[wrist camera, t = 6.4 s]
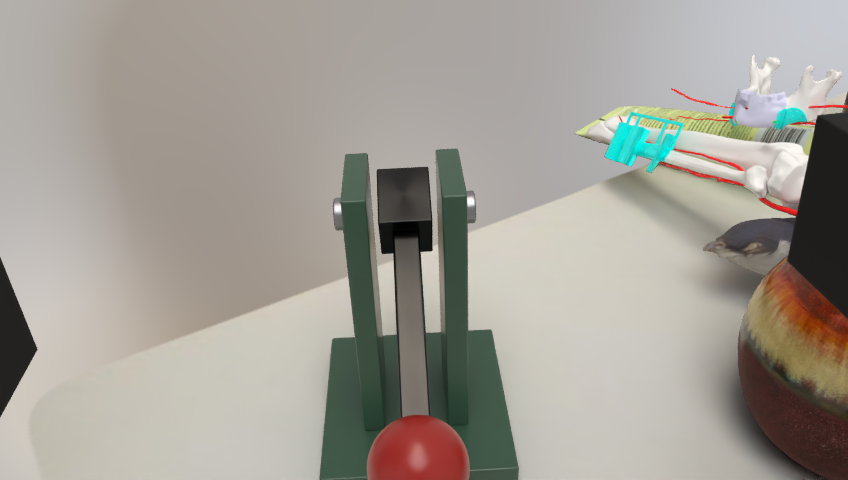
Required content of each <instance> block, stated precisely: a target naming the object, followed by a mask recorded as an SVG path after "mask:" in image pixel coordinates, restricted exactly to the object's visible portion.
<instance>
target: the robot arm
mask: <svg viewBox="0 0 848 480" xmlns="http://www.w3.org/2000/svg"><path fill="white" fill-rule="evenodd" d="M787 262H788V263H790V264H791V265H792V266H793V267H794V268H795V269H796V270H797V271H798V272H799V273H800V274H801V275H802V276H803V277H804V278H805V279H806V280H807V281H808V282H809V283H810V284H812V285H813V286H814V287H815V288H816V289H817V290H818V291H819V292H820V293H821V294H822V295H823V296H824V297H825V298H826V299H827V300H828V301H829V302H830V303H831V304H832V305H834V306H835V307H836V308H837V309H838V310H839V311H840V312H841V313H842V314H843V315H844V316H845V317H846V318H847V319H848V112H845V113H835V114H826V115H817V119H816V124H815V129H814V134H813V139H812V143H811V148H810V153H809V158H808V163H807V167H806V172H805V177H804V182H803V186H802V191H801V196H800V201H799V206H798V210H797V215H796V220H795V225H794V230H793V234H792V239H791V244H790V249H789V254H788V258H787ZM36 351H37V347H36V344H35V342H34V340H33V337H32V335H31V332H30V330H29V327H28V325H27V322H26V320H25V318H24V315H23V312H22V310H21V307H20V305H19V302H18V300H17V298H16V296H15V293H14V290H13V288H12V285H11V283H10V280H9V278H8V275H7V273H6V270H5V268H4V265H3V263H2V260H1V258H0V417H1V415H2V413H3V411H4V409H5V407H6V406H7V404H8V402H9V400H10V399H11V397H12V395H13V393H14V391H15V389H16V388H17V386H18V384H19V382H20V380H21V378H22V377H23V375H24V373H25V371H26V369H27V368H28V366H29V364H30V362H31V360H32V358H33V357H34V355H35V352H36Z"/></svg>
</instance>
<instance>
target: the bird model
mask: <svg viewBox="0 0 848 480" xmlns="http://www.w3.org/2000/svg"><path fill="white" fill-rule="evenodd" d="M795 220H796V218H784V219H782V218H771V219H757V220H749V221H745V222H741V223H739V224H737V225H735V226H733V227H731V228H730V229H729V230H728V231H727V232H726V233H725V234H724V235H722V236H721V237H718V238H716V241H714V242H711V243H709V244H707V245H706V246H705V247H704V248H703V251H710V252H714V253H717V254H718V255H719V257H723V258H727V259H728V260H729V261H730V262H733V263H735V264H737V265H740V266H743V267H745V268H747V269H749V270H752V271H754V272H756V273H759V274H762V275H766V274H767V273H768V272H769V271H770V270H771V269H772V268H773V267H774V266H775V265H776V264H777V263H779V262H780V261H781V260H782V259H783V258H784V257H786V256H787V255H788V254H789V249H790V244H791V239H792V234H793V230H794V225H795Z"/></svg>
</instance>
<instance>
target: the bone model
mask: <svg viewBox="0 0 848 480" xmlns="http://www.w3.org/2000/svg"><path fill="white" fill-rule="evenodd" d="M779 65H780V60H779V59H778V58H772V57H768V58H766V59H765V61H764V62H763V63H762V68H763V69H762V70H760V69H758V68H757V64H756V59H755V56H754V55H753V56H752V58H751V62H750V86H749V88H748V89H745V90H743V89H738V92H737V95H736V99H735V103H733V104H732V106H731V107H725V108H731V109H730V115H729V116H722V118H723V119H728V118H729V119H730V120H718V119H711V118H704V119H694V118H691V117H683V116H678V117H682V118H686V119H694V120H715V121H729V122H730V123H731V124H732V125H733V126H735V127H736V126H737V125H743V126H748V127H753V128H769V127H773V129H774V128H777V130H781V129H783V128H784V127H785V126H786V125H799V124H811V125H815V124H816V123H812V122H807V121H813V120H816V119H817V115H822V114H823V112H824V110H825V108H827V107H838V108H848V106H845V105H825V100H826V97H827V94H828V93H829V91H830V90H831V88H832V87H833V86H834V85H835V84H836V82H837V81H838V80H839V78H840V77H841V76H842V73H841V72H839V71H834V70H833V69H830V70H829V71H828V72H827V78H826V79H824V80H821V81H814V79H813V77H812V71H813V69H814V67H813V66H808V67H807V68H806V69H805V70H804V72H803V74H802V78H801V82H800V85H799V87H798V89H797V90H796V91H795V93H794V94H793V95H791V96H790V97H788V98H787V97H786V93H785V92H779V93H775V94H769V91H770V85H771V78H772V75H773V73H774V71H775V70H776V69H777V68H778V67H779ZM672 90H674V91H675V92H677V93H679V94H681V95H683V96H685V97H686V98H688V99H691V100H693V101H697V102H701V103H705V104H709V105H714V106H719V105H716V104H713V103H709V102H705V101H699V100H696V99H692V98H690V97H688V96H686V95H684V94H682V93H681V92H679V91H677V90H675V89H672ZM721 107H722V106H721ZM632 116H637V117H638V119H637V121H636V120H635V119H634V118H632ZM641 117H642V118H646V119H651V120H655V121H660V122H664V125H663V127H662V129H657V128H651V127H646V126H643V125H641V124H639V122H640V120H641ZM678 117H677V118H678ZM669 118H670V117H669ZM677 118H676V119H677ZM719 118H720V117H719ZM672 120H673V119H671V118H670V120H667V119H662V118H658V117H653V116H649V115H644V114H640V113H635V112H631V113H630V115H629V117H627V116H614V117H611V118H609V119H607V120H606V121H605V124H604V122H603V121H600V122H598V123H597V124H596V125H594V126H591V127H590V128H589V129H588V131H587V136H588V137H590V138H591V139H592V140H593V141H597V142H599V143H602V142H607V143H608V144H610V145H609V147H608V149H607V152H606V154H605V157H606V158H608V159H611V160H614V161H616V162H621V163H623V164H626V165H628V166H632V165H633V162H634V160H635V159H636V157H637V156H641V157H645V158H648V159H651V160H652V161H651V163H650V164H649V166H648V168H647V170H646V171H647V172H649V173H652V171H653V170H654V169H655V167H656V166H657V165H658V163H660V164H663V165H665V166H668V167H672V168H675V169H681V170H685V171H688V172H689V173H691V174H693V175H696V176H698V177H704V178H716V179H717V180H718V182H720V181H723V182H727V183H731V184H736V185H740V186H745V188H747V189H749V190H751V191H752V192H753V193H754V194H755V196H756V197H757V198H758V199H759V200H760V201H761V202H763V203H764V204H766V205H767V206H769V207H771V208H773V209H776V210H779V211H782V212H786V213H788V214H790V215H794V216H796V215H797V210H798V206H799V201H800V196H801V191H802V186H803V182H804V177H805V172H806V167H807V163H808V158H809V156H808V155H806V154H805V153H804V151H803V148H802V146H801V145H798V144H795V143H788V142H776V143H764V142H754V141H744V140H738V139H732V138H727V137H722V136H717V135H713V134H707V133H702V132H696V131H686V130H682V128H683V126H684V123H681V122H676V121H672ZM674 120H675V119H674ZM667 124H673V125H677V126H679V128H678V130H672V129H666V127H667ZM675 151H676V152H675ZM678 152H680V153H678ZM682 153H684V154H682ZM685 154H688V155H691V156H688V155H685ZM692 156H695V157H699V158H703V159H706V160H709V161H712V162H715V163H719V164H722V165H718V164H715V163H711V162H708V161H705V160H702V159H699V158H695V157H692ZM664 162H666V163H664ZM667 163H669V164H672V165H668V164H667ZM666 164H667V165H666ZM674 165H676V166H674ZM723 165H725V166H728V167H731V168H733V169H731V168H728V167H725V166H723ZM677 166H679V167H677ZM688 169H689V170H688ZM734 169H736V170H734ZM691 170H693V171H691ZM694 171H696V172H694ZM698 172H699V173H698ZM702 173H704V174H702ZM699 174H700V175H699ZM707 174H708V175H707ZM704 175H705V176H704ZM712 175H713V176H712ZM719 178H720V179H719ZM767 191H769V194H770V195H771V196H773V197H776V198H778V199H779V200H780V201H781V203H782V205H783V206H784V207H783V206H779V205H776V204H774V203H771V202H770V201H768V200H767V199H766V198H764V197H765V196H766V194H767Z"/></svg>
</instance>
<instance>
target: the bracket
mask: <svg viewBox="0 0 848 480" xmlns="http://www.w3.org/2000/svg"><path fill="white" fill-rule="evenodd" d="M436 176H437V177H436V181H437V212H438V248H439V282H440V315H441V332H438V333H426V346H427V361H428V377H429V392H430V408H431V416H432V417H435V418H438V419H440V420H442V421H444V422H445V423H447V424H448V425H450V426H451V427H452V428H453V429H454V430H455V431H456V432H457V433H458V435H459V436H460V437H461V439H462V441H463V442H464V444H465V447H466V449H467V452H468V456H469V462H470V475H469V480H518V471H519V467H518V462H517V457H516V452H515V447H514V442H513V437H512V432H511V427H510V422H509V416H508V411H507V406H506V401H505V396H504V391H503V386H502V381H501V376H500V370H499V365H498V360H497V355H496V350H495V345H494V340H493V335H492V331H491V330H473V331H468V228H467V224H468V223H475V221H476V204H475V194H474V191H466V187H465V182H464V177H463V173H462V167H461V162H460V157H459V152H458V149H441V150H436ZM333 215H334V225H335V229H336V230H337V231H339V230H343V232H344V241H345V250H346V258H347V268H348V278H349V287H350V296H351V305H352V315H353V324H354V333H355V337H351V338H334V339H332V347H331V358H330V369H329V380H328V391H327V402H326V413H325V424H324V435H323V446H322V457H321V468H320V479H319V480H368V478H367V459H368V454H369V451H370V448H371V446H372V444H373V442H374V440H375V439H376V437H377V435H378V434H379V433H380V432H381V431H382V430H383V429H384V428H385V427H386V426H387V425H389V424H390V423H391V422H393V421H395V420H397V419H399V418H400V400H399V376H398V351H397V335H385V336H383V333H382V321H381V309H380V297H379V285H378V272H377V260H376V248H375V236H374V225H373V212H372V201H371V190H370V176H369V164H368V154H366V153H363V154H346V155H345V162H344V173H343V182H342V192H341V198H335V199H334V201H333Z"/></svg>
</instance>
